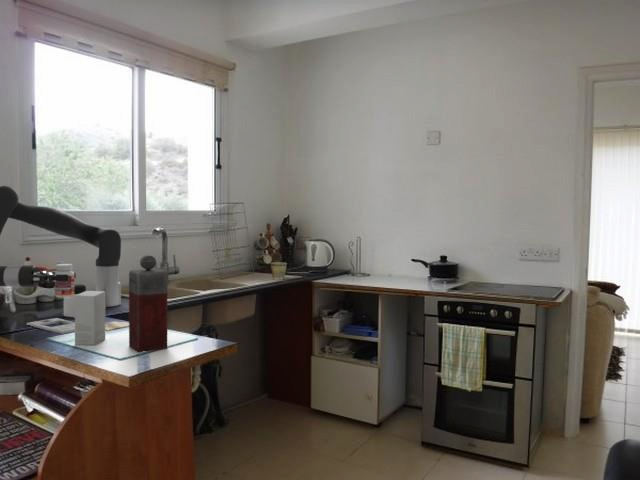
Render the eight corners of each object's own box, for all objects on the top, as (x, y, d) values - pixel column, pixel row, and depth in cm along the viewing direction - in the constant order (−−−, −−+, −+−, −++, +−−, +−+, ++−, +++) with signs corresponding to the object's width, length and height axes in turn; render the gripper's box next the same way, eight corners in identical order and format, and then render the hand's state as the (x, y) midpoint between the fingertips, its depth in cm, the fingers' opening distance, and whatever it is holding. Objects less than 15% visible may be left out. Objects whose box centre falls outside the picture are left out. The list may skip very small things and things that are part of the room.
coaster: (114, 322, 192) (114, 321, 192) (132, 325, 186) (132, 324, 186) (90, 327, 183) (89, 325, 183) (107, 331, 178) (107, 329, 178)
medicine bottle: (91, 314, 205) (91, 284, 204) (76, 318, 198) (76, 286, 197) (78, 313, 208) (78, 283, 207) (63, 316, 201) (63, 285, 200)
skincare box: (86, 338, 167) (86, 290, 166) (107, 339, 167) (107, 290, 166) (73, 345, 159) (73, 294, 158) (95, 345, 159) (94, 295, 158)
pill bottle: (75, 297, 183) (75, 265, 182) (56, 298, 180) (55, 265, 179) (73, 294, 188) (72, 263, 187) (54, 295, 185) (53, 264, 184)
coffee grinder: (155, 340, 166) (155, 253, 165) (167, 348, 157) (167, 255, 155) (126, 344, 161) (126, 254, 159) (137, 352, 152) (137, 257, 150)
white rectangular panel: (56, 320, 194) (56, 317, 194) (92, 328, 182) (92, 325, 182) (26, 325, 185) (26, 322, 185) (61, 333, 173) (61, 331, 172)
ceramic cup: (282, 280, 316) (282, 264, 315) (267, 279, 319) (267, 263, 319) (291, 278, 328) (291, 262, 327) (276, 277, 331) (277, 261, 331)
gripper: (11, 268, 175) (64, 268, 176) (30, 263, 189) (79, 263, 191) (12, 290, 175) (64, 290, 177) (31, 284, 189) (79, 284, 191)
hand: (71, 276), depth 184 cm, fingers closed on pill bottle, 6 cm apart
